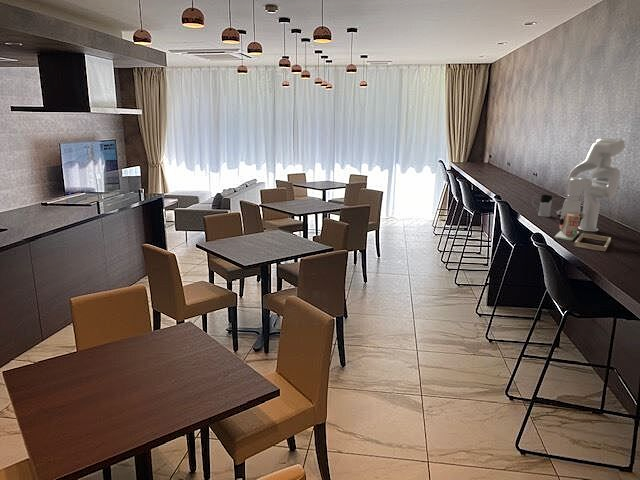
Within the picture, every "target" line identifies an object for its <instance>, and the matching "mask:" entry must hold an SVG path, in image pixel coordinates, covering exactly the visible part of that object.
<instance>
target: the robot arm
mask: <svg viewBox="0 0 640 480" xmlns="http://www.w3.org/2000/svg"><path fill="white" fill-rule="evenodd" d="M625 145H626V144H625V141H624V140H623V139H620V138H619V139H618V138H607V137H606V138H605V137H603V138H597V139H596V140H595V141H594V142H593V143H592V144H591V145H590V147H589V150H588V151H587V153H586V156H585V157H584V160H583V161H582V162H580V163H579V164H577V165H576V166H575V167H573V168H572V169H571V170H570V172H569V175H568V176H567V179H566V182H565V184H566V185H565V186H566V187H567V192H566V193H567V194H566V198H565V199H564V201H563V205H562V208H560V209H559V210H557V211H556V212H555V214H557V217H558V218H559V224H560V225H562V224H563V217H564V216H566V213H572V214H578V215H579V216H580V215H581V216H580V222H579V226H578V230H579V231H584V232H594V233H595V232H598V231H599V228H598V227H597V224H598V218H599V214H600V208H601V203H600V200H599V199H605V200H610V199H613V197H615V193H616V191H617V187H618V184H619V182H620V178H621V170H620V169H619V168H617V167H611V164H612V161H613V160H612V157H616V156H617V155H619V154H620V153H622V152H624V149H625ZM590 170H592V173H591V178H592V180H594V181H592V180H591V178H588V177H581V176H578V175H579V174H581V173H584V172H587V171H590ZM595 181H596V182H595ZM597 181H598V182H597ZM603 182H604V183H603ZM605 182H606V183H605ZM582 190H583V191H584V200H583V197H581V196H582V195H581V194H582ZM581 200H583V207H582V201H581ZM581 209H582V211H581ZM561 214H562V216H561Z"/></svg>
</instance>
